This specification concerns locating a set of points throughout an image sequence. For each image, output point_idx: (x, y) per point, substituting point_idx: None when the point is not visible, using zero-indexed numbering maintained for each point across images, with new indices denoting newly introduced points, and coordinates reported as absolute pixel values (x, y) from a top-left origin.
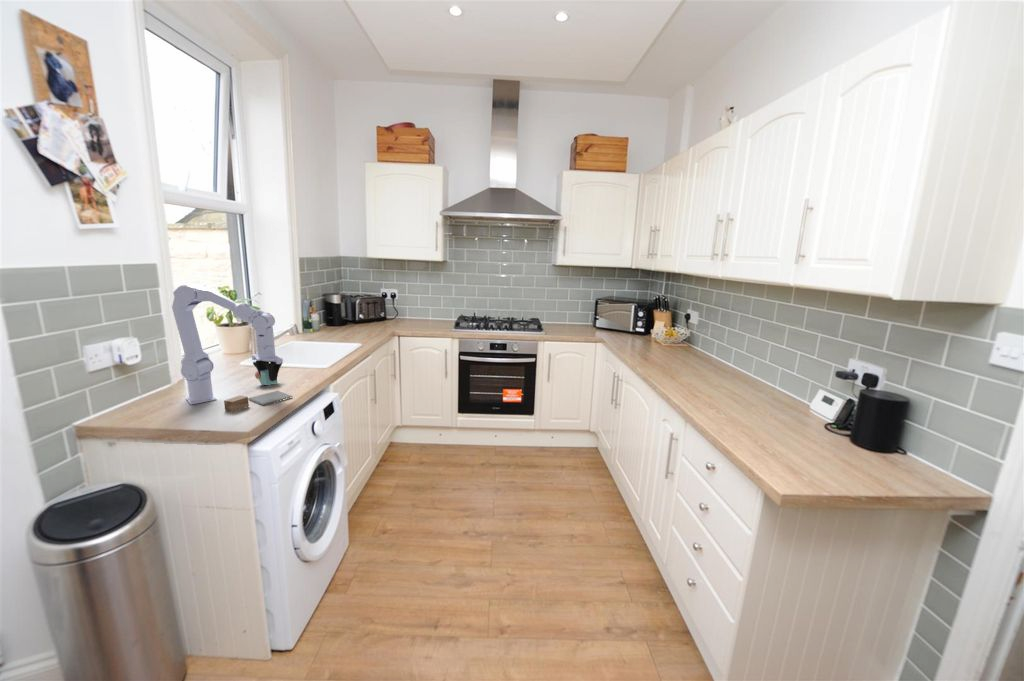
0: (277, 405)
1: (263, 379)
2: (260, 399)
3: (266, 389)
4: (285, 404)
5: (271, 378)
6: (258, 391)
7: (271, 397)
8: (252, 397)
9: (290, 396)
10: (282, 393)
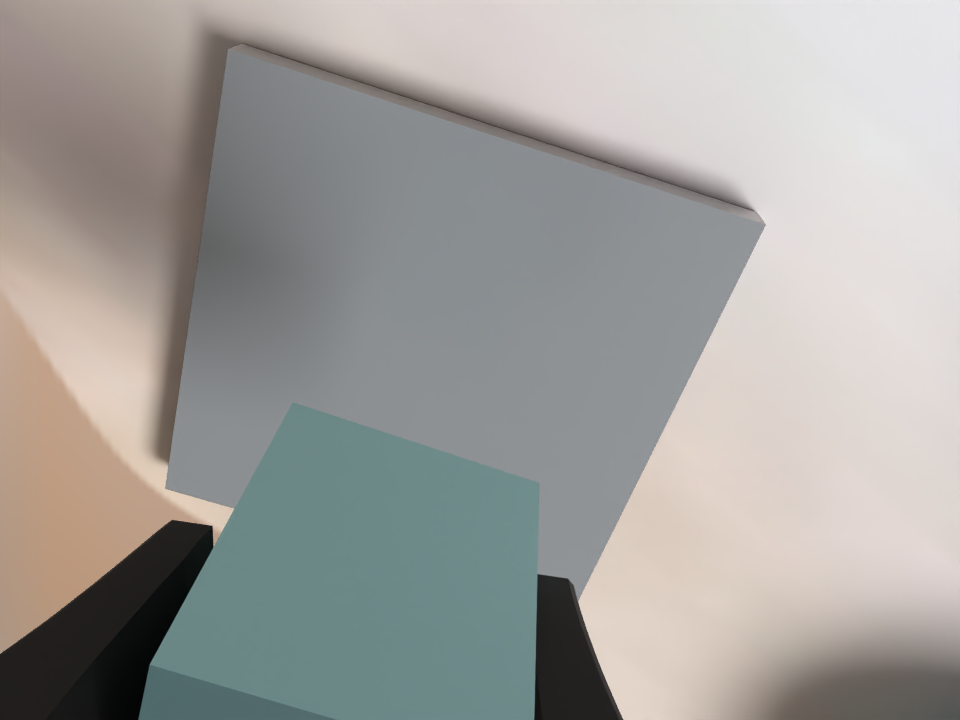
0: (63, 151)
1: (392, 523)
2: (484, 226)
3: (846, 642)
4: (2, 229)
5: (119, 565)
6: (905, 558)
7: (395, 357)
8: (711, 265)
9: (174, 469)
10: None
